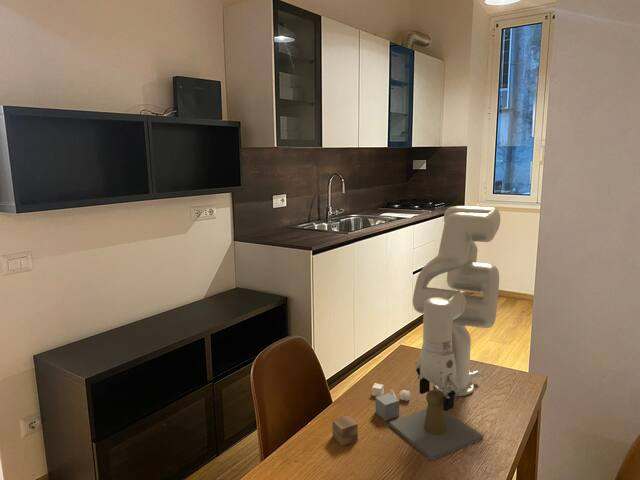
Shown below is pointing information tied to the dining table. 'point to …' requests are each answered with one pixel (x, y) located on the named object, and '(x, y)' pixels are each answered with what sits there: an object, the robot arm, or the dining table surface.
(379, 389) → the game pieces
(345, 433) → the walnut block
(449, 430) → the mat
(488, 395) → the dining table surface
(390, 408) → the slate-grey block
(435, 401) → the olive lobed rounded piece
